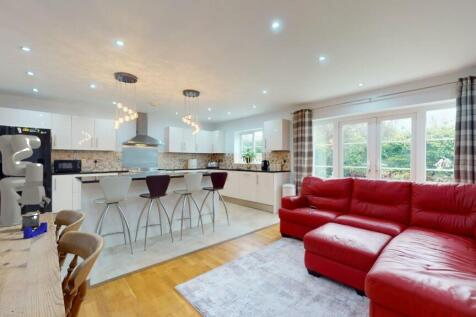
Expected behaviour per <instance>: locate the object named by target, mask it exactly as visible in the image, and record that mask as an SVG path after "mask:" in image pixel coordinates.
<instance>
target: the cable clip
mask: <svg viewBox="0 0 476 317" xmlns="http://www.w3.org/2000/svg"><path fill="white" fill-rule="evenodd" d="M39 226H40V227H39V228H36V229H35V230H32V227H26V228H24V231H22V233H23V239H24V240H30V239H33V238H35V237H38V236H40V235H43V234H46V233H48V222H47V221H44V222H43V221H42V222H39ZM45 232H46V233H45ZM37 235H38V236H37ZM34 236H35V237H34Z"/></svg>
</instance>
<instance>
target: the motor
mask: <svg viewBox="0 0 476 317" xmlns="http://www.w3.org/2000/svg"><path fill="white" fill-rule="evenodd" d="M40 215H41V214H40V210H39V209H37V210H36V211H30V212H27V214H24V215H22V213H21V218H22V219H21V220H22V224H21V228H20V231H21V232H24V228H26V227H32V231H34V230H35V229H36V228H39V227H40Z"/></svg>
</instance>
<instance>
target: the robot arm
mask: <svg viewBox="0 0 476 317" xmlns="http://www.w3.org/2000/svg"><path fill="white" fill-rule="evenodd" d="M41 143H42V142H41V139H40V138H39V137H38V136H37V135H31V134H29V135H27V134H13V135H12V134H3V135H0V153H1V163H2V174H3V175H5V176H12V177H4V178H2V179H0V227H1V228H4V227H12V226H13V227H14V226H19V225H22V219H21V218H22V216H21V214H22V215H24V214H27V213H28V205H30V206H32V205H39V206H40V207H39V212H40V214H39V215H44V214H46V212H47V210H46V208H47V206H48V205H49V204H50V202H51V201H52V200H51V198H49V197H47V196H46V191H45V186H44V185H43V184H44V165H43V164H42V163H38V162H32V161H23V160H24V159H25V160H26V159H27V158H30V157H32V155H33V154H34V151H33V149H34V150H35V149H39V148H40V147H41ZM18 192H21V195H20V194H19V193H18Z"/></svg>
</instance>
